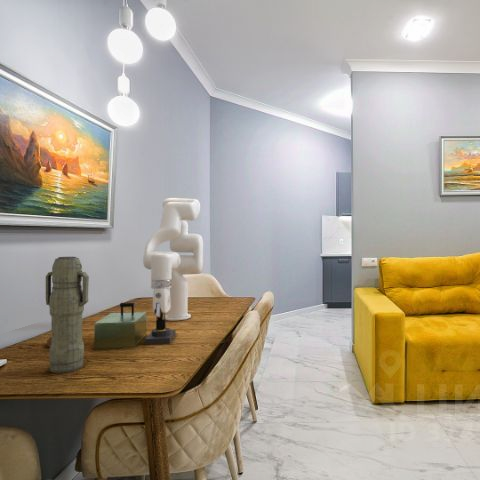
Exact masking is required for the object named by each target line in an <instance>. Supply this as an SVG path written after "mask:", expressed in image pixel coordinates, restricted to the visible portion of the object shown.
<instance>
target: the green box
mask: <svg viewBox="0 0 480 480" xmlns="http://www.w3.org/2000/svg"><path fill="white" fill-rule="evenodd" d="M93 327H94V332H93V333H94V338H93V341H94V342H93V343H94V346H93V349H94V350H108V349H111V350H112V349H125V348H126V349H127V348H128V349H131V348H132V349H133V348H136V347H137V346H138V345H139V344H140V343H141V341H143V340H144V339H145V338H146V337H147V314H146V315H145V316H144V317H143V318H141V319H140V320H139V321H138V322H137V323H135V324H119V325H94V326H93Z"/></svg>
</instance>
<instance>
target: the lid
mask: <svg viewBox="0 0 480 480" xmlns="http://www.w3.org/2000/svg"><path fill="white" fill-rule="evenodd" d="M135 306H136V303H135V302H134V301H132V302H120V304H119V307H120V312H110V313H108V314H107V315H106V316H104V317H102V318H101V319H99V320H98V321H95V322H94V324H93V325H94V326H95V325H119V324H135V323H137V322H138V321H139V320H140V319H141V318H143V317H144V316H145V315H146V316H147V314H148V312H147V311H136V312H135ZM124 308H131V312H124Z"/></svg>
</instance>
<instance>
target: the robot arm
mask: <svg viewBox="0 0 480 480" xmlns="http://www.w3.org/2000/svg"><path fill="white" fill-rule="evenodd" d="M200 213H201V202H200V200H198V199H196V198H181V197H169V198H168V197H167V198H165V199H164V200H163V201H162V214H161V220H160V226H159V230H158V231H156V232H155V233H154V234H152V235H151V237H150V238H149V239H148V240H147V242H146V244H145V246H144V252H143V257H142V263H143V266H144V268H145V269H147V270H150V289H152V291H153V292H152V313H153V314H155V329H156V330H164V329H165V328H167V326H166V325H167V322H170V321H171V322H177V321H185V320H188V319H189V320H190V319H191V317H192V315H191V313H188V312H189V311H188V309H189V307H188V306H189V283H188V280H187V278H186V277H185V276H184V275H200V274H201V273H202V272H203V269H204V239H203V236H202V235H201V234H199V233H189V223H188V221H195V220H197V218H198V217H199V215H200ZM168 241H169V249H170V251H155V249H156V248H158V246H160V245H161V244H163V243H167V242H168ZM179 253H184V254H179ZM185 253H190V255H189V254H185ZM191 254H193V255H191ZM166 321H167V322H166Z"/></svg>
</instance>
